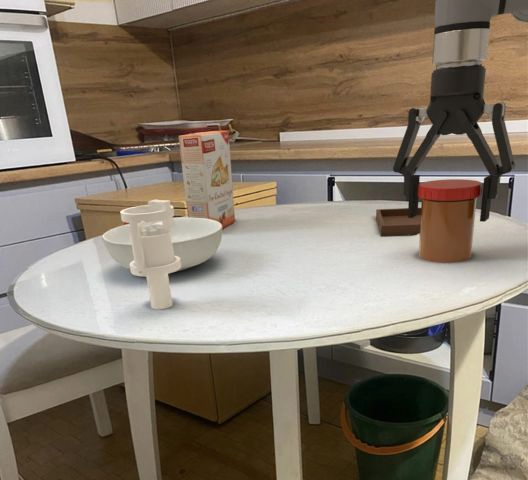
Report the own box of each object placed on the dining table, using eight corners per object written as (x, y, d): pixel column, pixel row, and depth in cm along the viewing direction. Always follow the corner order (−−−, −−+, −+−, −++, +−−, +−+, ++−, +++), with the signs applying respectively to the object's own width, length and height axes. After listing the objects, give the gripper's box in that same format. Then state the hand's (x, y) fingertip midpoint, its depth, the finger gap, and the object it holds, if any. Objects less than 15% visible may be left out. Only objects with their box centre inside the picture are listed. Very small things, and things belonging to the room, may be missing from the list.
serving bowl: (128, 293, 84) (120, 250, 81) (97, 265, 101) (90, 229, 98) (245, 267, 93) (242, 228, 90) (198, 246, 110) (194, 212, 107)
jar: (476, 254, 91) (483, 184, 86) (462, 267, 85) (469, 192, 80) (428, 249, 95) (432, 183, 90) (411, 262, 89) (414, 191, 84)
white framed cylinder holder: (169, 316, 73) (152, 205, 67) (127, 312, 76) (107, 205, 70) (195, 299, 79) (181, 195, 73) (155, 296, 82) (139, 195, 75)
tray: (451, 233, 105) (452, 223, 104) (380, 236, 107) (381, 225, 106) (437, 216, 120) (438, 206, 119) (376, 218, 122) (376, 209, 122)
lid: (426, 190, 92) (427, 179, 91) (485, 190, 87) (486, 179, 86) (411, 199, 84) (411, 188, 83) (475, 201, 80) (476, 188, 79)
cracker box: (212, 235, 118) (202, 133, 109) (188, 234, 120) (176, 135, 111) (237, 221, 130) (229, 129, 121) (215, 221, 132) (205, 130, 123)
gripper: (551, 58, 74) (529, 216, 84) (392, 73, 87) (388, 210, 96) (542, 56, 69) (520, 227, 78) (373, 73, 81) (371, 218, 90)
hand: (447, 218), depth 87 cm, fingers open, 11 cm apart
